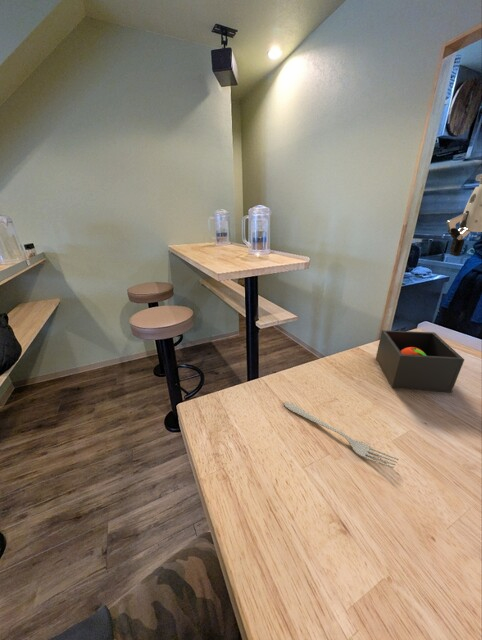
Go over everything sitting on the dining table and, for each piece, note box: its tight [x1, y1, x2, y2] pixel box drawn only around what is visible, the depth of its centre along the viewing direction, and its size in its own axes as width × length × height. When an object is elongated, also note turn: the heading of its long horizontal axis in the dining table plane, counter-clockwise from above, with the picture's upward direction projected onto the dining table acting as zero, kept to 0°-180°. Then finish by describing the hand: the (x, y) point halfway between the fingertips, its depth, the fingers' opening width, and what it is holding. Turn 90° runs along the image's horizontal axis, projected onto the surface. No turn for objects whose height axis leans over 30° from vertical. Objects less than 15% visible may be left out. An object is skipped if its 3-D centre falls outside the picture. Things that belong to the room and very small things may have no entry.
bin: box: [375, 329, 465, 393], centre depth 67 cm, size 14×14×10 cm
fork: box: [283, 401, 399, 469], centre depth 53 cm, size 3×24×2 cm, turn 45°
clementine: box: [401, 347, 427, 356], centre depth 68 cm, size 8×7×7 cm
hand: (475, 255), depth 64 cm, fingers open, 9 cm apart
